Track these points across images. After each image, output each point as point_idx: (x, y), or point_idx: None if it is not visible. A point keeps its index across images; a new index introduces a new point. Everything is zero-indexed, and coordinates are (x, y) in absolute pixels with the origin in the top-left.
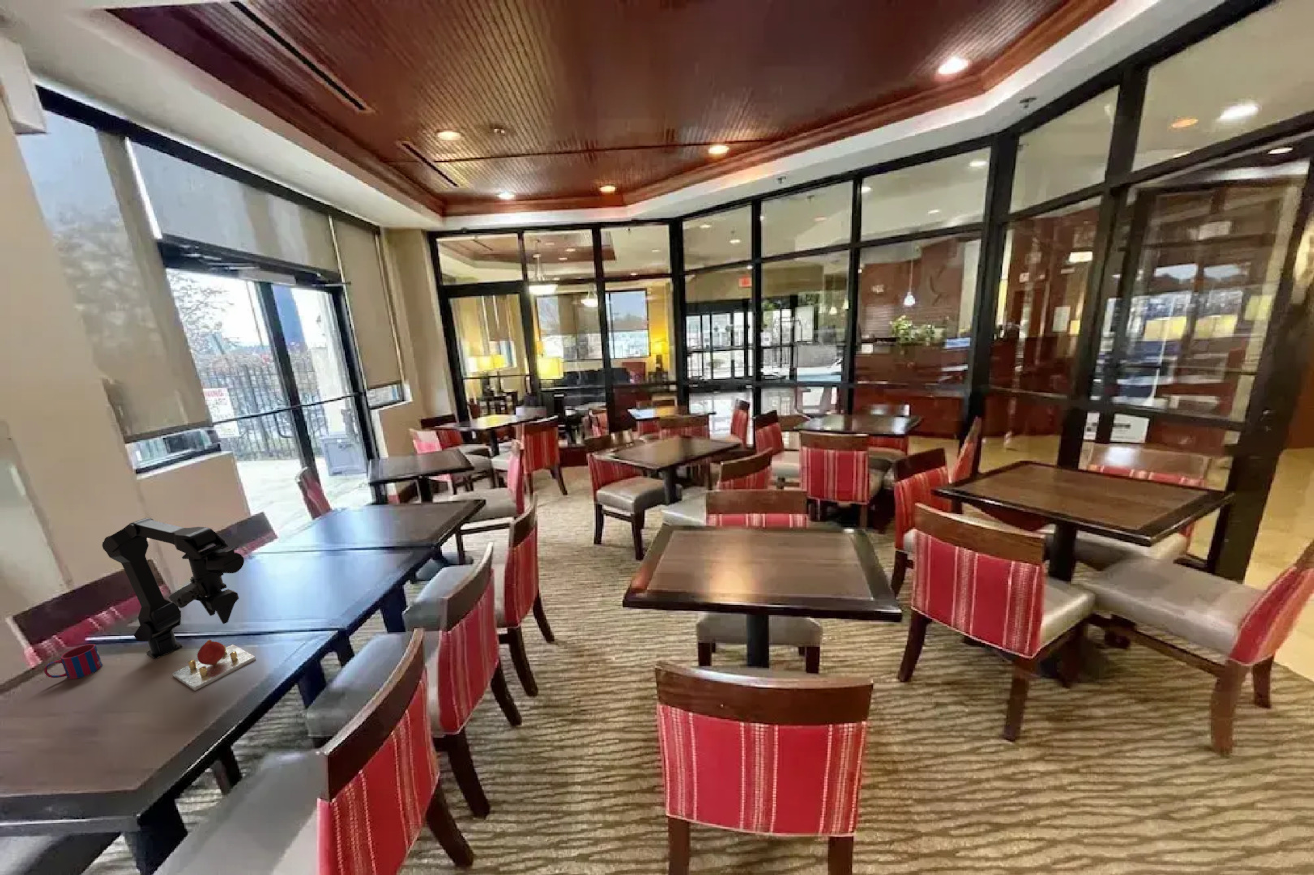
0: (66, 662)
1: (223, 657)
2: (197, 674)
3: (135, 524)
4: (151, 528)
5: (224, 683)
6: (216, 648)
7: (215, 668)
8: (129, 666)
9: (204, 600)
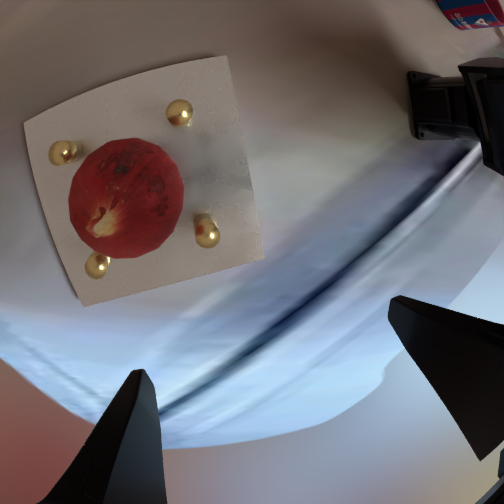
0: None
1: None
2: (109, 127)
3: None
4: None
5: (6, 206)
6: (78, 235)
7: None
8: (415, 33)
9: (501, 374)
